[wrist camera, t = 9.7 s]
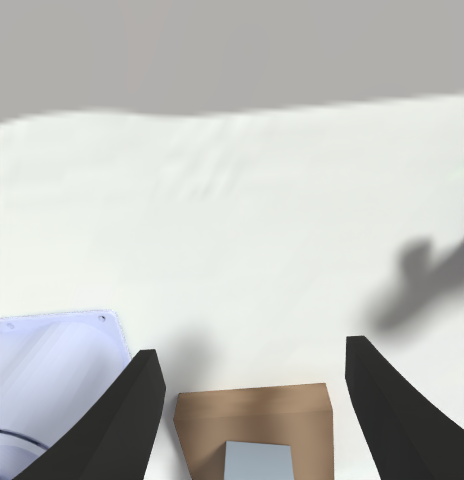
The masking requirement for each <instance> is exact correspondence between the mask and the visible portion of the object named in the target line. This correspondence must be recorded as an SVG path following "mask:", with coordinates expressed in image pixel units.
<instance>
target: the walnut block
mask: <svg viewBox="0 0 464 480" xmlns="http://www.w3.org/2000/svg"><path fill="white" fill-rule="evenodd" d="M173 421H174V424H175V427H176V430H177V434H178V437H179V440H180V443H181V446H182V449H183V452H184V456H185V459H186V462H187V465H188V468H189V471H190V475H191V478H192V480H224V472H225V457H226V441H234V442H247V443H260V444H273V445H286V446H290V449H291V458H292V466H293V475H294V480H334V445H333V409H332V406H331V402H330V398H329V395H328V391H327V387H326V383H317V384H303V385H289V386H275V387H261V388H247V389H233V390H219V391H205V392H191V393H179V396H178V401H177V406H176V410H175V415H174V419H173Z"/></svg>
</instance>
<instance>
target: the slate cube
mask: <svg viewBox="0 0 464 480" xmlns="http://www.w3.org/2000/svg"><path fill="white" fill-rule="evenodd" d="M224 480H294V475H293V466H292V458H291V449H290V446H286V445H273V444H260V443H247V442H234V441H226V457H225V472H224Z"/></svg>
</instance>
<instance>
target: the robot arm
mask: <svg viewBox="0 0 464 480" xmlns="http://www.w3.org/2000/svg"><path fill="white" fill-rule="evenodd" d="M101 316H103V317H105V318H102V317H101ZM12 324H13V325H12ZM345 379H346V383H347V387H348V391H349V394H350V398H351V402H352V405H353V408H354V411H355V413H356V416H357V418H358V421H359V424H360V426H361V429H362V431H363V434H364V437H365V439H366V442H367V444H368V447H369V449H370V452H371V454H372V457H373V460H374V462H375V465H376V467H377V470H378V472H379V475H380V478H381V480H464V429H462V428H461V427H460V426H459V425H457V424H456V423H455V422H453V421H452V420H451V419H450V418H448V417H447V416H446V415H445V414H444V413H442V412H441V411H440V410H439V409H438V408H436V407H435V406H434V405H433V404H432V403H431V402H430V401H428V400H427V399H426V398H425V397H424V396H423V395H422V394H421V393H420V392H418V391H417V390H416V389H415V388H414V387H413V386H412V385H411V384H410V383H409V382H408V381H407V380H406V379H405V378H404V377H403V376H402V375H401V374H400V373H399V372H398V371H397V370H396V369H395V368H394V367H393V366H392V365H391V364H390V363H389V362H388V361H387V360H386V359H385V358H384V357H383V356H382V355H381V353H380V352H379V351H378V350H377V349H376V348H375V347H374V346H373V345H372V344H371V342H370V341H369V340H368V339H367V338H366V337H365V336H349V337H346V366H345ZM165 391H166V386H165V382H164V379H163V375H162V372H161V368H160V364H159V361H158V357H157V354H156V350H155V349H150V350H140V351H139V352H138V353H137V354H136V355H135V357H134V358H133V359H131V356H130V353H129V350H128V347H127V344H126V341H125V338H124V335H123V332H122V328H121V325H120V322H119V319H118V316H117V314H116V312H114V311H113V310H97V311H85V312H72V313H60V314H48V315H36V316H23V317H11V318H0V480H143V479H144V475H145V472H146V468H147V465H148V461H149V458H150V454H151V451H152V447H153V444H154V440H155V437H156V433H157V430H158V426H159V423H160V419H161V415H162V410H163V404H164V397H165Z"/></svg>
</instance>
